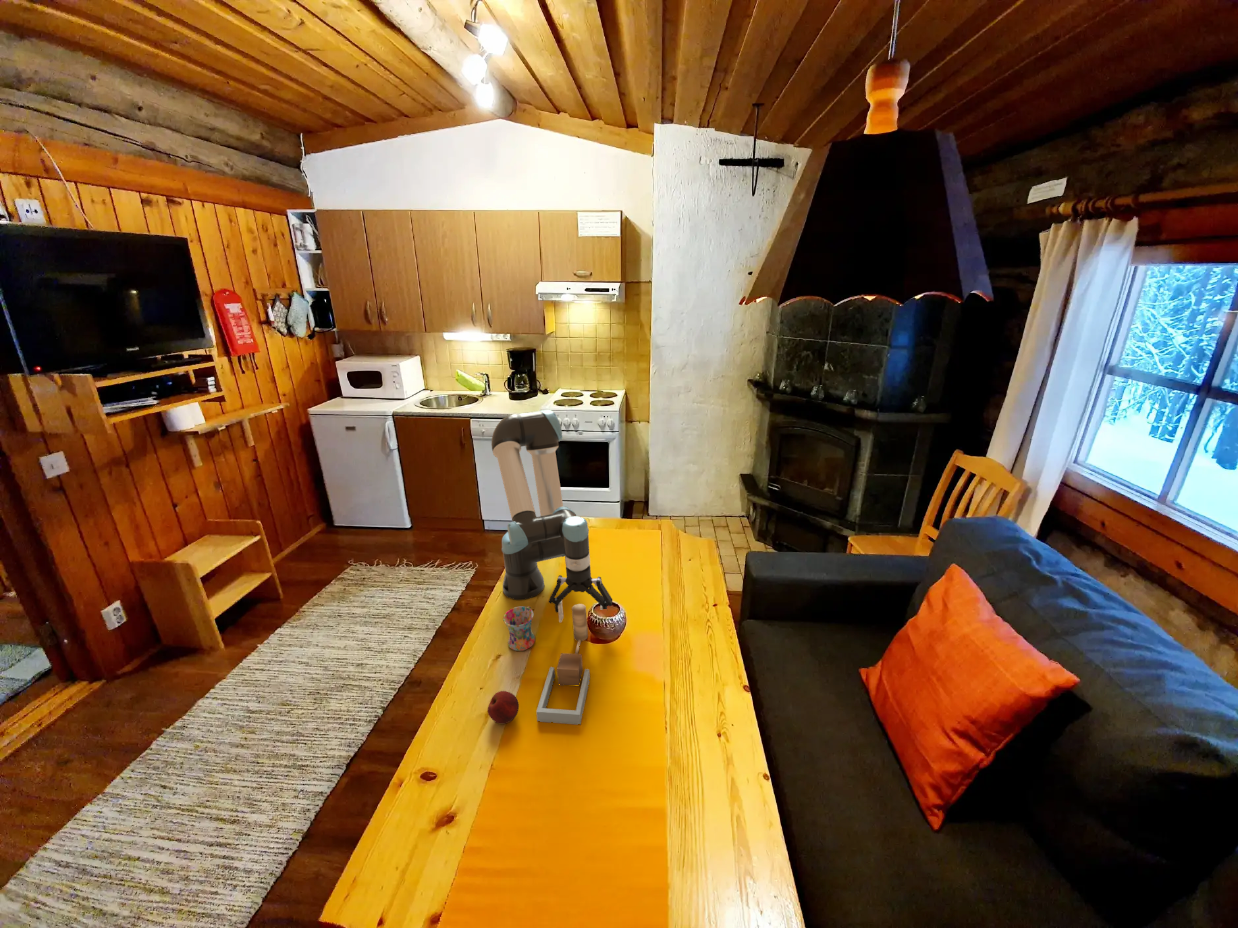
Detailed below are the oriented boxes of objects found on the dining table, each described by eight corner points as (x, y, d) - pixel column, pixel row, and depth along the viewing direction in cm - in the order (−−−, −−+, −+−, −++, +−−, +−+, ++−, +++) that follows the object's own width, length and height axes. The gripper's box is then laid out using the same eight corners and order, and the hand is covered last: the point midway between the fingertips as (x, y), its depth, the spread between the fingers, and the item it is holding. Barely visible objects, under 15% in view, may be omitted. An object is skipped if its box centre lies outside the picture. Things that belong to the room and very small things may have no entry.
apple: (494, 705, 132) (491, 683, 129) (523, 705, 131) (520, 683, 128) (487, 729, 125) (482, 706, 122) (516, 729, 125) (513, 706, 122)
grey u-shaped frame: (551, 676, 141) (550, 666, 139) (589, 678, 139) (589, 669, 138) (537, 721, 127) (536, 711, 125) (580, 724, 125) (579, 714, 124)
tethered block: (573, 630, 158) (570, 603, 154) (591, 631, 157) (589, 604, 153) (558, 685, 138) (555, 654, 134) (579, 686, 137) (576, 656, 133)
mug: (528, 656, 148) (524, 628, 144) (501, 650, 151) (497, 622, 147) (545, 630, 159) (542, 603, 155) (520, 624, 162) (516, 598, 158)
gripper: (535, 570, 147) (541, 626, 155) (616, 573, 144) (618, 630, 152) (541, 556, 154) (547, 611, 162) (619, 559, 151) (621, 614, 159)
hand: (581, 620), depth 157 cm, fingers open, 13 cm apart
